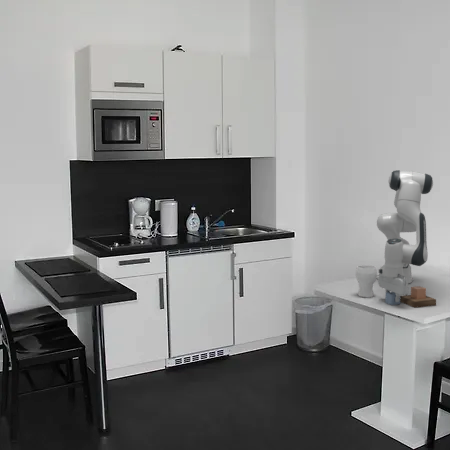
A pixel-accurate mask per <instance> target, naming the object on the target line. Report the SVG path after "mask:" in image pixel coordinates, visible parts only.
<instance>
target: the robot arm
mask: <svg viewBox="0 0 450 450" xmlns="http://www.w3.org/2000/svg"><path fill="white" fill-rule="evenodd" d="M388 186H389V188H390V189H391V190H394V191H395V194H394V195H395V196H394V201H393V205H394V207H395V209H396V212H388V213H383V214H379V216H378V217H377V219H376V226H377V229H378V230H379V231H380V232H381V233H382V234H384V236H385V237H386V239H387V240H386V242H385V246H384V264H383V265H382V266H380V267H379V268H378V269H377V270H378V271H377V273H378V274H377V277H376V279H377V280H378V286H379V287H380V288H382V289H384V291H385V294H386V293H387V292H394V293H395V295H396V297H395V298H394V301H395V302H399V298H400V296H404V295H409V294H408V293H409V284H411V283H412V281H414V278H413V277H412V275H413V274H412V273H413V272H412V266H416V267H421V266H422V265H424V264H425V263H427V261H428V254H429V253H428V245H427V222H426V216H425V214H424V213H423V212H422V210H421V199H422V195H427V194H429V193H430V192H431V191H432V188H433V186H434V180H433V177H432V176H431V175H430V174H428V173H422V172H418V171H410V170H393V171H392V172H391V173H390V175H389V176H388ZM415 232H416V233H415ZM402 233H415V235H416V240H415V241H416V242H415V243H416V244H410V243H409V241H408V240H407V239H404V238H402V237H401V235H400V234H402Z"/></svg>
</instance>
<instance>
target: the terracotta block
mask: <svg viewBox="0 0 450 450" xmlns="http://www.w3.org/2000/svg"><path fill="white" fill-rule="evenodd" d="M426 294H427V288H426V287H425V286H424V287H423V286H420V285H417V286H416V285H415V286H411V287H410V295H411V297H412V298H415V299H424V298H426V296H427V295H426Z"/></svg>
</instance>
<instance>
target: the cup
mask: <svg viewBox="0 0 450 450" xmlns="http://www.w3.org/2000/svg"><path fill="white" fill-rule="evenodd" d="M377 270H378V269H377V266H375V265H370V264H361V265H357V266H356V269H355V278H356V280H357V283H358V296H359V297H360V298H361V297H362V298H373V297H374V289H373V288H374V284H375V282H376V279H377V278H376V277H377V275H378V271H377Z"/></svg>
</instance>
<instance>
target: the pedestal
mask: <svg viewBox="0 0 450 450" xmlns="http://www.w3.org/2000/svg"><path fill="white" fill-rule="evenodd" d="M400 303H402V304H403V305H407V306H410V307H412V308H415V309H416V308H424V307H426V308H427V307H435V306H437V299H436V298H433V297H430V296H428V295H426V298H424V299H415V298H412V297H411V294H407V295H401V296H400Z"/></svg>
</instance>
